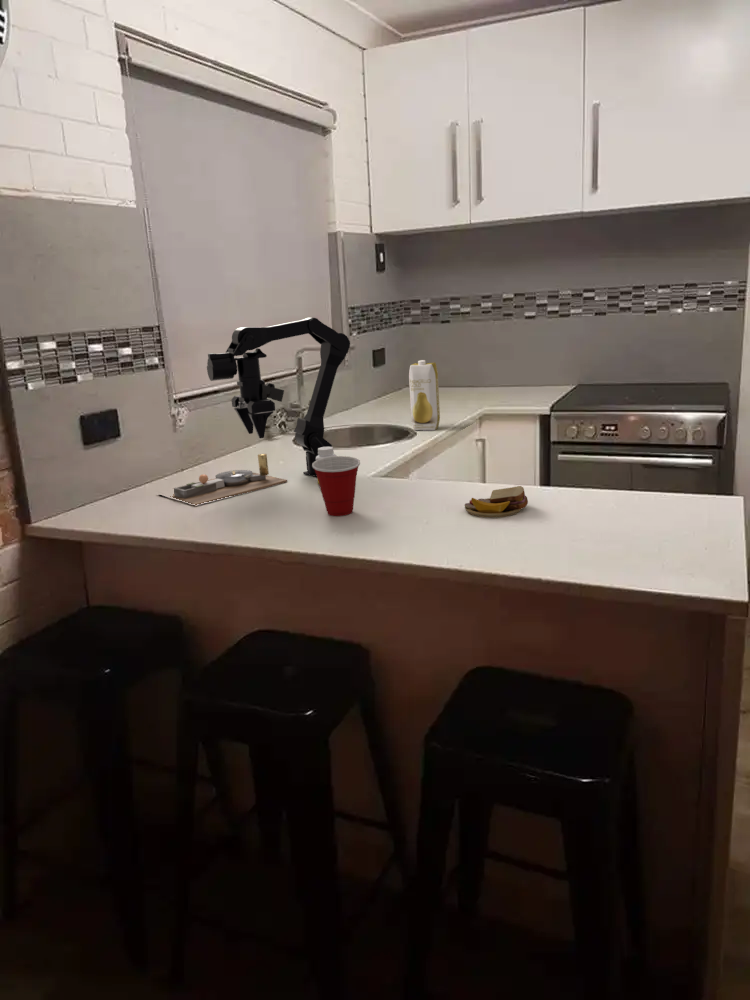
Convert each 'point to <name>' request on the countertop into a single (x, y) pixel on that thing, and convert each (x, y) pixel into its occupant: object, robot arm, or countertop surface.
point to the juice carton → (424, 395)
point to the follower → (204, 481)
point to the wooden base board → (221, 490)
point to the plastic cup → (337, 483)
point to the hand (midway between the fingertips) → (256, 435)
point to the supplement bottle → (325, 454)
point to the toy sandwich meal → (499, 503)
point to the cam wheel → (245, 474)
